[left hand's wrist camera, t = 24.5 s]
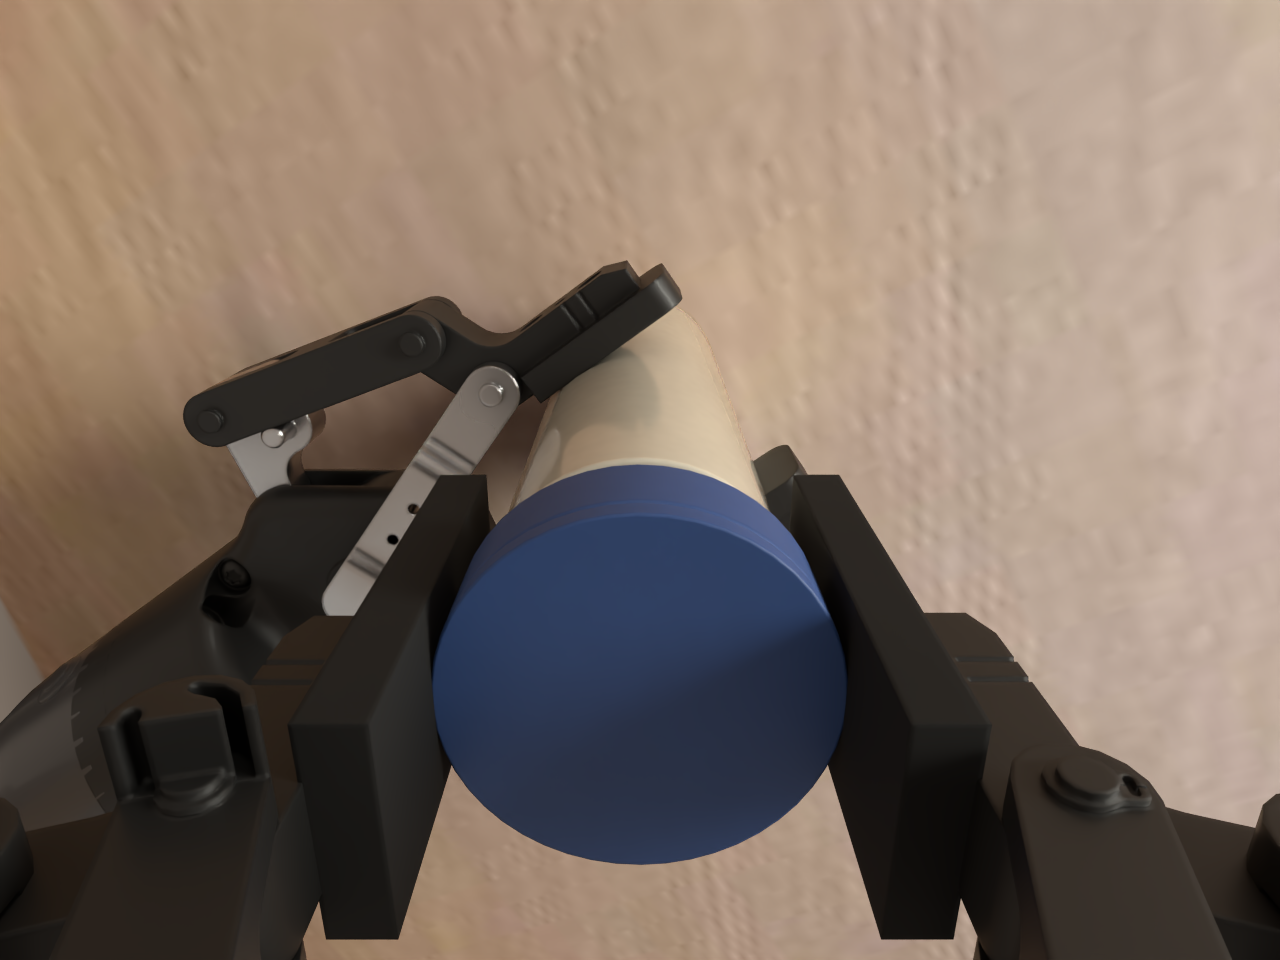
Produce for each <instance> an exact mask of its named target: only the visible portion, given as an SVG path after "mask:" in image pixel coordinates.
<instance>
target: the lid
mask: <svg viewBox="0 0 1280 960" xmlns="http://www.w3.org/2000/svg"><path fill="white" fill-rule="evenodd" d="M847 683H848V673H847V666H846V659H845V654H844V651H843V647H842V644H841V641H840V638H839V634H838V631H837V629H836V627H835V624H834V622H833V620H832V617H831V614H830V612H829V610H828V607H827V605H826V602H825V600H824V597H823V595H822V593H821V590H820V588H819V585H818V583H817V581H816V578H815V576H814V573H813V571H812V569H811V567H810V565H809V563H808V561H807V559H806V556H805V554H804V552H803V551H802V549H801V548H800V546H799V545H798V544H797V542H796V541H795V539H794V538H793V536H792V535H791V533H790V532H789V531H788V530H787V529H786V528H785V527H784V526H783V525H782V523H781V522H780V521H779V520H778V519H777V518H776V517H775V516H774V515H773V514H772V513H770V512H769V511H768V510H767V509H766V508H764V507H763V506H762V505H761V504H760V503H758V502H757V501H756V500H754V499H752V498H751V497H749V496H748V495H746V494H744V493H743V492H741V491H740V490H738V489H736V488H734V487H732V486H730V485H728V484H726V483H723V482H721V481H719V480H717V479H715V478H712V477H709V476H706V475H703V474H699V473H696V472H693V471H690V470H685V469H679V468H673V467H668V466H658V465H640V464H636V465H622V466H610V467H605V468H600V469H595V470H590V471H586V472H583V473H580V474H577V475H574V476H571V477H567V478H564V479H562V480H560V481H558V482H556V483H553V484H551V485H549V486H547V487H545V488H543V489H541V490H539V491H538V492H536V493H535V494H533V495H531V496H530V497H528V498H527V499H525V500H524V501H522V502H521V503H519V504H518V505H517V506H516V507H515V508H514V509H512V510H511V511H510V512H509V513H508V514H507V515H505V516H504V517H503V518H502V519H501V520H500V521H499V522H498V523H497V525H496V526H495V527H494V528H493V529H492V530H491V531H490V533H489V534H488V535H487V536H486V538H485V539H484V541H483V542H482V544H481V545H480V547H479V548H478V550H477V551H476V553H475V554H474V556H473V559H472V561H471V563H470V565H469V567H468V570H467V572H466V574H465V576H464V579H463V581H462V584H461V586H460V588H459V591H458V593H457V596H456V598H455V600H454V603H453V605H452V608H451V610H450V613H449V615H448V617H447V620H446V622H445V625H444V627H443V629H442V632H441V634H440V637H439V641H438V644H437V648H436V651H435V655H434V658H433V667H432V690H433V700H434V710H435V719H436V727H437V732H438V735H439V737H440V740H441V743H442V746H443V749H444V751H445V753H446V755H447V757H448V759H449V761H450V762H451V764H452V766H453V768H454V770H455V772H456V773H457V774H458V776H459V777H460V779H461V780H462V781H463V783H464V784H465V785H466V787H467V788H468V790H469V791H470V792H471V793H472V794H473V795H474V796H475V797H476V798H477V799H478V800H479V801H480V802H481V803H482V804H483V806H484V807H486V808H487V809H488V810H489V811H490V812H492V813H493V814H494V815H495V816H497V817H498V818H499V819H500V820H501V821H503V822H504V823H506V824H507V825H509V826H510V827H512V828H513V829H515V830H516V831H518V832H520V833H521V834H523V835H525V836H527V837H529V838H531V839H533V840H535V841H537V842H539V843H541V844H543V845H545V846H548V847H550V848H553V849H556V850H558V851H561V852H564V853H567V854H570V855H574V856H578V857H582V858H586V859H590V860H595V861H602V862H609V863H616V864H637V865H644V864H662V863H671V862H677V861H683V860H690V859H694V858H698V857H701V856H705V855H709V854H712V853H716V852H718V851H721V850H724V849H726V848H729V847H731V846H734V845H737V844H739V843H741V842H743V841H745V840H746V839H748V838H750V837H752V836H754V835H756V834H758V833H760V832H761V831H763V830H764V829H766V828H767V827H769V826H770V825H772V824H773V823H775V822H776V821H778V820H779V819H780V818H782V817H783V816H784V815H785V814H786V813H787V812H789V811H790V810H791V809H792V808H793V807H794V806H796V805H797V804H798V803H799V802H800V800H801V799H802V798H803V797H804V796H805V795H806V794H807V793H808V792H809V791H810V789H811V788H812V787H813V786H814V784H815V783H816V782H817V780H818V779H819V777H820V776H821V774H822V773H823V771H824V770H825V769H826V767H827V765H828V763H829V761H830V759H831V757H832V755H833V753H834V751H835V749H836V747H837V744H838V741H839V738H840V735H841V732H842V729H843V722H844V714H845V705H846V694H847Z"/></svg>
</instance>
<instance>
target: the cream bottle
mask: <svg viewBox="0 0 1280 960" xmlns="http://www.w3.org/2000/svg"><path fill="white" fill-rule="evenodd" d="M636 464H640V465H658V466H668V467H673V468H679V469H685V470H690V471H693V472H696V473H699V474H703V475H706V476H709V477H712V478H715V479H717V480H719V481H721V482H723V483H726V484H728V485H730V486H732V487H734V488H736V489H738V490H740V491H741V492H743V493H744V494H746V495H748V496H749V497H751V498H752V499H754V500H756V501H757V502H758V503H760V504H761V505H762V506H763V507H764V508H766V509H767V510H768V511H769V512H770V513H771V511H770V508H769V505H768V502H767V500H766V497H765V494H764V491H763V489H762V486H761V483H760V480H759V478H758V475H757V472H756V469H755V467H754V464H753V461H752V458H751V456H750V453H749V450H748V447H747V445H746V442H745V439H744V437H743V434H742V431H741V428H740V426H739V423H738V420H737V417H736V415H735V412H734V409H733V406H732V404H731V401H730V398H729V395H728V393H727V390H726V387H725V384H724V382H723V379H722V376H721V373H720V371H719V368H718V365H717V363H716V360H715V357H714V354H713V352H712V349H711V346H710V344H709V342H708V339H707V337H706V336H705V334H704V332H703V331H702V329H701V328H700V327H699V325H698V324H697V323H696V322H695V321H694V320H693V319H692V318H691V317H690V316H689V315H688V314H686V313H685V312H684V311H682V310H681V309H679V308H677V307H674V308H673V309H672V310H671V311H669V312H668V313H667V314H665V315H664V316H663V317H661V318H660V319H658V320H657V321H656V322H654V323H653V324H651V325H650V326H649V327H647V328H646V329H644V330H643V331H642V332H640V333H639V334H637V335H636V336H635V337H633V338H632V339H630V340H629V341H627V342H626V343H625V344H623V345H622V346H620V347H619V348H618V349H616V350H615V351H613V352H612V353H611V354H609V355H608V356H606V357H605V358H604V359H602V360H601V361H599V362H598V363H597V364H595V365H594V366H592V367H591V368H590V369H588V370H587V371H585V372H584V373H582V374H581V375H579V376H577V377H576V378H575V379H574V380H572V381H571V382H570V383H569V384H567V385H566V386H564V387H563V388H562V389H560V390H559V391H557V392H556V393H555V394H553V395H552V396H550V399H549V402H548V405H547V407H546V410H545V413H544V416H543V418H542V421H541V424H540V427H539V429H538V432H537V435H536V438H535V440H534V443H533V446H532V449H531V451H530V454H529V457H528V460H527V462H526V465H525V468H524V470H523V473H522V476H521V479H520V481H519V484H518V487H517V490H516V492H515V495H514V498H513V501H512V503H511V506H510V509H509V512H510V511H511V510H512V509H514V508H515V507H516V506H517V505H518V504H519V503H521V502H522V501H524V500H525V499H527V498H528V497H530V496H531V495H533V494H535V493H536V492H538V491H539V490H541V489H543V488H545V487H547V486H549V485H551V484H553V483H556V482H558V481H560V480H562V479H564V478H567V477H571V476H574V475H577V474H580V473H583V472H586V471H590V470H595V469H600V468H605V467H610V466H622V465H636ZM509 512H508V513H509Z"/></svg>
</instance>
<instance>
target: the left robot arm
mask: <svg viewBox="0 0 1280 960" xmlns="http://www.w3.org/2000/svg"><path fill="white" fill-rule="evenodd" d="M789 532H790V533H791V535H792V536H793V538H794V539H795V541H796V542H797V544H798V545H799V546H800V548H801V549H802V551H803V552H804V554H805V556H806V559H807V561H808V563H809V565H810V567H811V569H812V571H813V573H814V576H815V578H816V581H817V583H818V585H819V588H820V590H821V593H822V595H823V597H824V600H825V602H826V605H827V607H828V610H829V612H830V614H831V617H832V620H833V622H834V624H835V627H836V629H837V631H838V634H839V638H840V641H841V644H842V647H843V651H844V654H845V659H846V666H847V673H848V683H847V694H846V705H845V714H844V722H843V729H842V732H841V735H840V738H839V741H838V744H837V747H836V749H835V751H834V753H833V755H832V757H831V759H830V761H829V763H828V767H829V770H830V773H831V777H832V780H833V783H834V786H835V790H836V793H837V796H838V799H839V803H840V806H841V809H842V813H843V816H844V819H845V822H846V826H847V829H848V832H849V835H850V839H851V842H852V845H853V849H854V852H855V855H856V858H857V862H858V865H859V868H860V871H861V875H862V878H863V881H864V884H865V888H866V891H867V894H868V898H869V901H870V904H871V907H872V911H873V914H874V917H875V920H876V924H877V927H878V930H879V934H880V937H881V939H954V933H955V928H956V922H957V917H958V911H959V906H960V900H961V899H962V901H963V904H964V906H965V908H966V911H967V913H968V915H969V918H970V920H971V922H972V925H973V927H974V929H975V931H976V934H977V936H978V937H977V942H976V948H975V953H974V958H973V960H1280V794H1276V795H1275V796H1273V797H1272V798H1271V799H1270V800H1268V801H1267V802H1266V803H1265V804H1264V805H1263V807H1262V810H1261V813H1260V816H1259V819H1258V822H1257V825H1256V828H1253V827H1248V826H1244V825H1239V824H1234V823H1230V822H1225V821H1220V820H1216V819H1211V818H1207V817H1202V816H1197V815H1193V814H1188V813H1184V812H1181V811H1177V810H1174V809H1170V808H1167V807H1165V804H1164V802H1163V800H1162V799H1161V797H1160V796H1159V795H1158V793H1157V792H1156V790H1155V789H1154V788H1153V786H1152V785H1151V783H1150V782H1149V781H1148V780H1147V779H1145V778H1144V777H1143V776H1141V775H1140V774H1139V773H1137V772H1136V771H1135V770H1133V769H1132V768H1131V767H1130V766H1128V765H1127V764H1125V763H1123V762H1121V761H1119V760H1117V759H1115V758H1112V757H1110V756H1108V755H1106V754H1104V753H1102V752H1100V751H1096V750H1092V749H1089V748H1085V747H1081V746H1079V745H1078V744H1077V742H1076V741H1075V740H1074V738H1073V737H1072V735H1071V734H1070V733H1069V731H1068V730H1067V729H1066V727H1065V726H1064V725H1063V723H1062V722H1061V721H1060V719H1059V718H1058V717H1057V715H1056V714H1055V712H1054V711H1053V710H1052V708H1051V707H1050V706H1049V704H1048V703H1047V702H1046V700H1045V699H1044V698H1043V696H1042V695H1041V693H1040V692H1039V691H1038V689H1037V688H1036V687H1035V685H1034V684H1033V683H1032V682H1029V681H1028V676H1027V675H1026V673H1025V672H1024V670H1023V669H1022V668H1021V666H1020V665H1019V664H1018V662H1014V657H1013V656H1012V654H1011V653H1010V651H1009V650H1008V649H1007V647H1006V646H1005V645H1004V643H1003V642H1002V641H1001V639H1000V638H999V637H998V635H997V634H996V633H995V632H993V631H992V630H990V629H989V628H987V627H986V626H984V625H983V624H981V623H980V622H978V621H977V620H975V619H974V618H972V617H971V616H969V615H968V614H966V613H924V612H923V611H922V609H921V608H920V606H919V604H918V603H917V601H916V599H915V598H914V596H913V595H912V593H911V591H910V590H909V588H908V586H907V585H906V583H905V582H904V580H903V578H902V577H901V575H900V573H899V572H898V570H897V569H896V567H895V565H894V564H893V562H892V560H891V559H890V557H889V555H888V554H887V552H886V551H885V549H884V547H883V546H882V544H881V542H880V541H879V539H878V538H877V536H876V534H875V533H874V531H873V529H872V528H871V526H870V525H869V523H868V521H867V520H866V518H865V516H864V515H863V513H862V512H861V510H860V508H859V507H858V505H857V503H856V502H855V500H854V498H853V497H852V495H851V494H850V492H849V490H848V489H847V487H846V485H845V484H844V482H843V481H842V479H841V477H840V476H839V475H793V485H792V500H791V514H790V529H789ZM489 533H490V521H489V507H488V493H487V478H486V475H440V476H439V478H438V480H437V481H436V483H435V485H434V486H433V488H432V490H431V491H430V493H429V494H428V496H427V498H426V499H425V501H424V503H423V504H422V506H421V507H420V509H419V511H418V512H417V514H416V516H415V517H414V519H413V520H412V522H411V524H410V525H409V527H408V529H407V530H406V532H405V533H404V535H403V537H402V538H401V540H400V542H399V543H398V545H397V546H396V548H395V550H394V551H393V553H392V555H391V556H390V558H389V560H388V561H387V563H386V564H385V566H384V568H383V569H382V571H381V573H380V574H379V576H378V577H377V579H376V581H375V582H374V584H373V586H372V587H371V589H370V590H369V592H368V594H367V595H366V597H365V599H364V600H363V602H362V603H361V605H360V607H359V608H358V610H357V612H356V613H355V615H354V616H313V617H312V618H310V619H309V620H307V621H306V622H304V623H303V624H301V625H300V626H298V627H297V628H295V629H294V630H292V631H291V632H289V633H288V634H286V635H285V636H284V637H283V638H282V639H281V641H280V642H279V643H278V645H277V646H276V648H275V649H274V650H273V652H272V653H271V654H270V656H269V657H268V658H267V660H266V665H262V667H261V668H260V669H259V671H258V672H257V673H256V675H255V676H254V678H253V679H252V684H251V685H248V684H247V683H245V682H244V681H243V680H241V679H237V678H232V677H228V676H224V675H200V676H190V677H186V678H182V679H177V680H173V681H168V682H164V683H162V684H159V685H157V686H155V687H152V688H150V689H147V690H145V691H142V692H140V693H138V694H135V695H134V696H132V697H131V698H129V699H128V700H126V701H125V702H123V703H122V704H120V705H119V706H117V707H116V708H114V709H113V710H112V711H111V712H110V713H109V714H108V715H107V716H106V718H105V719H104V720H103V721H102V722H101V724H100V725H99V726H98V727H97V730H98V734H99V737H100V741H101V745H102V748H103V752H104V755H105V759H106V762H107V766H108V770H109V773H110V777H111V780H112V784H113V788H114V791H115V795H116V798H117V804H116V806H115V808H114V811H112V812H108V813H105V814H101V815H98V816H94V817H90V818H86V819H81V820H76V821H72V822H67V823H63V824H58V825H54V826H49V827H44V828H40V829H35V830H31V831H26V832H25V830H24V827H23V824H22V821H21V818H20V815H19V812H18V809H17V808H16V807H15V806H13V805H12V804H11V803H10V802H9V801H7V800H6V799H5V798H1V797H0V960H307V959H306V953H305V948H304V942H303V937H304V935H305V932H306V930H307V928H308V925H309V923H310V921H311V918H312V916H313V914H314V911H315V909H316V907H317V904H318V902H319V903H320V909H321V914H322V920H323V925H324V931H325V936H326V939H398V938H399V935H400V932H401V929H402V925H403V922H404V919H405V916H406V912H407V909H408V906H409V902H410V899H411V896H412V893H413V889H414V886H415V883H416V880H417V876H418V873H419V870H420V866H421V863H422V860H423V857H424V853H425V850H426V847H427V844H428V840H429V837H430V834H431V831H432V827H433V824H434V821H435V817H436V814H437V811H438V808H439V804H440V801H441V798H442V795H443V791H444V788H445V785H446V782H447V778H448V775H449V772H450V768H451V765H452V764H451V762H450V761H449V759H448V757H447V755H446V753H445V751H444V749H443V746H442V743H441V740H440V737H439V735H438V732H437V727H436V719H435V710H434V700H433V690H432V667H433V658H434V655H435V651H436V648H437V644H438V641H439V637H440V634H441V632H442V629H443V627H444V625H445V622H446V620H447V617H448V615H449V613H450V610H451V608H452V605H453V603H454V600H455V598H456V596H457V593H458V591H459V588H460V586H461V584H462V581H463V579H464V576H465V574H466V572H467V570H468V567H469V565H470V563H471V561H472V559H473V556H474V554H475V553H476V551H477V550H478V548H479V547H480V545H481V544H482V542H483V541H484V539H485V538H486V536H487V535H488V534H489Z"/></svg>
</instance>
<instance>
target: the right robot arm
mask: <svg viewBox="0 0 1280 960" xmlns="http://www.w3.org/2000/svg"><path fill="white" fill-rule="evenodd" d="M681 300H682V295H681V291H680V289H679V287H678V286H677V284H676V283H675V281H674V280H673V278H672V277H671V276H670V274H669V273H668V271H667V270H666V268H665V267H664V265H663V264H662V263H661V264H659V265H657V266H655V267H653V268H652V269H650V270H649V271H647V272H646V273H645V274H643V275H642V276H640V277H638V275H637V274H636V272H635V271H634V270H633V268H632V267H631V265H630V264H629V263H628V261H623V262H619V263H615V264H611V265H607V266H603V267H602V268H601V269H599V270H598V271H597V272H595V273H594V274H593V275H591V276H590V277H589V278H587V279H586V280H585V281H583V282H582V283H581V284H579V285H578V286H576V287H575V288H574V289H572V290H571V291H570V292H569V293H567V294H566V295H564V296H563V297H562V298H560V299H559V300H558V301H556V302H555V303H554V304H552V305H551V306H549V307H548V308H547V309H545V310H544V311H543V312H541V313H540V314H539V315H537V316H536V317H535V318H533V319H532V320H531V321H529V322H528V323H527V324H525V325H524V326H522V327H521V328H519V329H518V330H516V331H513V332H510V333H503V334H501V333H493V332H490V331H487V330H485V329H483V328H482V327H480V326H478V325H477V324H475V323H474V322H472V321H471V320H469V319H468V318H466V317H465V316H463V315H462V313H461V311H460V309H459V308H458V307H457V306H456V305H455V304H454V303H453V302H452V301H450V300H449V299H446V298H444V297H439V296H433V297H428V298H425V299H423V300H420V301H418V302H415V303H412V304H410V305H407V306H405V307H402V308H400V309H397V310H394V311H392V312H389V313H387V314H384V315H381V316H379V317H376V318H374V319H371V320H369V321H366V322H363V323H361V324H358V325H356V326H353V327H351V328H348V329H345V330H343V331H340V332H338V333H335V334H332V335H330V336H327V337H325V338H322V339H320V340H317V341H314V342H312V343H309V344H307V345H304V346H302V347H299V348H296V349H294V350H291V351H289V352H286V353H283V354H281V355H278V356H276V357H273V358H271V359H268V360H265V361H263V362H260V363H258V364H255V365H253V366H250V367H247V368H245V369H243V370H241V371H239V372H238V373H236V374H234V375H232V376H230V377H228V378H227V379H225V380H223V381H221V382H219V383H218V384H216V385H214V386H212V387H210V388H208V389H207V390H205V391H203V392H201V393H199V394H198V395H196V396H194V397H192V398H191V399H190V400H189V401H188V402H187V404H186V405H185V408H184V412H183V419H184V423H185V426H186V428H187V430H188V432H189V433H190V434H191V435H192V436H193V437H194V438H195V439H196V440H197V441H199V442H201V443H202V444H205V445H207V446H212V447H222V446H227V448H228V449H229V451H230V453H231V455H232V456H233V458H234V460H235V462H236V463H237V465H238V467H239V469H240V470H241V472H242V474H243V475H244V477H245V479H246V481H247V482H248V484H249V486H250V488H251V489H252V491H253V493H254V494H255V496H256V499H255V501H254V502H253V503H252V504H251V506H250V508H249V509H248V511H247V514H246V517H245V520H244V524H243V527H242V529H241V531H240V533H239V535H238V536H237V537H236V538H235V539H233V540H232V541H231V542H229V543H228V544H227V545H225V546H224V547H223V548H221V549H220V550H219V551H217V552H216V553H215V554H213V555H212V556H211V557H209V558H208V559H206V560H205V561H204V562H202V563H201V564H200V565H198V566H197V567H196V568H194V569H193V570H192V571H190V572H189V573H188V574H186V575H185V576H184V577H182V578H181V579H180V580H178V581H177V582H175V583H174V584H173V585H171V586H170V587H169V588H167V589H166V590H165V591H163V592H162V593H161V594H159V595H158V596H157V597H155V598H154V599H153V600H151V601H150V602H148V603H147V604H146V605H144V606H143V607H142V608H140V609H139V610H138V611H136V612H135V613H133V614H132V615H131V616H129V617H128V618H127V619H125V620H124V621H123V622H121V623H120V624H119V625H117V626H116V627H115V628H113V629H112V630H111V631H109V632H108V633H107V634H106V635H104V636H103V637H102V638H100V639H99V640H97V641H96V642H95V643H93V644H92V645H91V646H89V647H88V648H86V649H85V650H84V651H82V652H81V653H80V654H78V655H77V656H75V657H73V658H72V659H70V660H69V661H68V662H66V663H65V664H63V665H62V666H60V667H59V668H58V669H57V670H56V671H55V672H54V673H53V674H51V675H50V676H49V677H48V678H47V679H45V680H44V681H43V682H42V683H41V684H39V685H38V686H37V687H36V688H34V689H33V690H32V691H31V692H30V693H29V694H28V695H27V696H26V697H25V698H24V699H23V700H22V701H21V702H20V703H19V704H18V705H17V706H16V707H15V708H14V709H13V710H12V712H11V713H10V714H9V715H8V716H7V717H6V718H5V719H4V720H3V721H2V722H1V723H0V797H1V798H5V799H6V800H7V801H9V802H10V803H11V804H12V805H13V806H15V807H16V808H17V809H18V812H19V815H20V818H21V821H22V824H23V827H24V830H25V832H26V831H31V830H35V829H40V828H44V827H49V826H54V825H58V824H63V823H67V822H72V821H76V820H81V819H86V818H90V817H94V816H98V815H101V814H105V813H108V812H112V811H114V808H115V806H116V804H117V798H116V795H115V791H114V788H113V784H112V780H111V777H110V773H109V770H108V766H107V762H106V759H105V755H104V752H103V748H102V745H101V741H100V737H99V734H98V730H97V727H98V726H99V725H100V724H101V722H102V721H103V720H104V719H105V718H106V716H107V715H108V714H109V713H110V712H111V711H112V710H113V709H114V708H116V707H117V706H119V705H120V704H122V703H123V702H125V701H126V700H128V699H129V698H131V697H132V696H134V695H135V694H138V693H140V692H142V691H145V690H147V689H150V688H152V687H155V686H157V685H159V684H162V683H164V682H168V681H173V680H177V679H182V678H186V677H190V676H200V675H224V676H228V677H232V678H237V679H241V680H243V681H244V682H245V683H247V684H248V685H251V684H252V679H253V678H254V676H255V675H256V673H257V672H258V671H259V669H260V668H261V667H262V665H266V660H267V658H268V657H269V656H270V654H271V653H272V652H273V650H274V649H275V648H276V646H277V645H278V643H279V642H280V641H281V639H282V638H283V637H284V636H285V635H286V634H288V633H289V632H291V631H292V630H294V629H295V628H297V627H298V626H300V625H301V624H303V623H304V622H306V621H307V620H309V619H310V618H312V617H313V616H354V615H355V613H356V612H357V610H358V608H359V607H360V605H361V603H362V602H363V600H364V599H365V597H366V595H367V594H368V592H369V590H370V589H371V587H372V586H373V584H374V582H375V581H376V579H377V577H378V576H379V574H380V573H381V571H382V569H383V568H384V566H385V564H386V563H387V561H388V560H389V558H390V556H391V555H392V553H393V551H394V550H395V548H396V546H397V545H398V543H399V542H400V540H401V538H402V537H403V535H404V533H405V532H406V530H407V529H408V527H409V525H410V524H411V522H412V520H413V519H414V517H415V516H416V514H417V512H418V511H419V509H420V507H421V506H422V504H423V503H424V501H425V499H426V498H427V496H428V494H429V493H430V491H431V490H432V488H433V486H434V485H435V483H436V481H437V480H438V478H439V476H440V475H471V474H472V472H473V471H474V469H475V467H476V466H477V465H478V463H479V462H480V460H481V459H482V457H483V456H484V454H485V453H486V452H487V450H488V449H489V447H490V446H491V444H492V443H493V442H494V440H495V439H496V437H497V436H498V434H499V433H500V431H501V430H502V429H503V427H504V426H505V424H506V423H507V421H508V420H509V419H510V417H511V416H512V414H513V413H514V411H515V410H516V408H517V406H518V405H520V404H521V403H523V402H524V401H525V400H527V399H528V398H530V397H531V396H532V395H535V397H536V398H537V399H538V401H539V402H540V403H542V402H543V401H545V400H546V399H548V398H549V397H550V396H552V395H553V394H555V393H556V392H557V391H559V390H560V389H562V388H563V387H564V386H566V385H567V384H569V383H570V382H571V381H572V380H574V379H575V378H576V377H577V376H579V375H581V374H582V373H584V372H585V371H587V370H588V369H590V368H591V367H592V366H594V365H595V364H597V363H598V362H599V361H601V360H602V359H604V358H605V357H606V356H608V355H609V354H611V353H612V352H613V351H615V350H616V349H618V348H619V347H620V346H622V345H623V344H625V343H626V342H627V341H629V340H630V339H632V338H633V337H635V336H636V335H637V334H639V333H640V332H642V331H643V330H644V329H646V328H647V327H649V326H650V325H651V324H653V323H654V322H656V321H657V320H658V319H660V318H661V317H663V316H664V315H665V314H667V313H668V312H669V311H671V310H672V309H673V308H674V307H675V306H676V305H677V304H678V303H679V302H680V301H681ZM420 372H421V373H423V374H425V375H426V376H428V377H429V378H431V379H432V380H434V381H436V382H437V383H439V384H440V385H442V386H444V387H445V388H447V389H448V390H450V391H452V392H453V393H455V394H456V396H455V397H454V399H453V400H452V402H451V403H450V405H449V406H448V408H447V409H446V411H445V412H444V414H443V415H442V417H441V418H440V420H439V421H438V423H437V424H436V426H435V427H434V429H433V430H432V432H431V433H430V435H429V436H428V438H427V439H426V441H425V442H424V444H423V445H422V446H421V448H420V449H419V451H418V452H417V454H416V455H415V457H414V458H413V459H412V461H411V462H410V464H409V465H408V467H407V468H406V470H346V469H304V468H303V465H302V460H301V455H302V451H303V448H305V447H306V446H307V445H308V444H309V443H310V442H311V441H313V440H314V439H315V438H316V437H317V436H318V435H319V434H320V433H321V432H322V431H323V429H324V427H325V424H326V415H325V411H324V408H327V407H329V406H332V405H335V404H337V403H340V402H343V401H345V400H348V399H351V398H353V397H356V396H359V395H361V394H364V393H367V392H369V391H372V390H375V389H377V388H380V387H383V386H385V385H388V384H391V383H393V382H396V381H399V380H401V379H404V378H407V377H409V376H412V375H414V374H417V373H420ZM753 464H754V467H755V469H756V472H757V475H758V478H759V480H760V483H761V486H762V489H763V491H764V494H765V497H766V500H767V502H768V505H769V508H770V511H771V513H772V514H773V515H774V516H775V517H776V518H777V519H778V520H779V521H780V522H781V523H782V525H783V526H784V527H785V528H786V529H787V530H788V531H789V529H790V514H791V500H792V485H793V475H807V473H806V471H805V469H804V467H803V466H802V465H801V463H800V462H799V460H798V459H797V457H796V456H795V454H794V453H793V451H792V450H791V449H790V447H789V446H788V445H781V446H778V447H776V448H774V449H772V450H770V451H768V452H767V453H765V454H764V455H762V456H761V457H759V458H758V459H756V460H754V461H753ZM489 521H490V531H491V530H492V529H493V528H494V527H495V526H496V524H495V522H494V520H493V518H492V516H491V514H490V511H489Z"/></svg>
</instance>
